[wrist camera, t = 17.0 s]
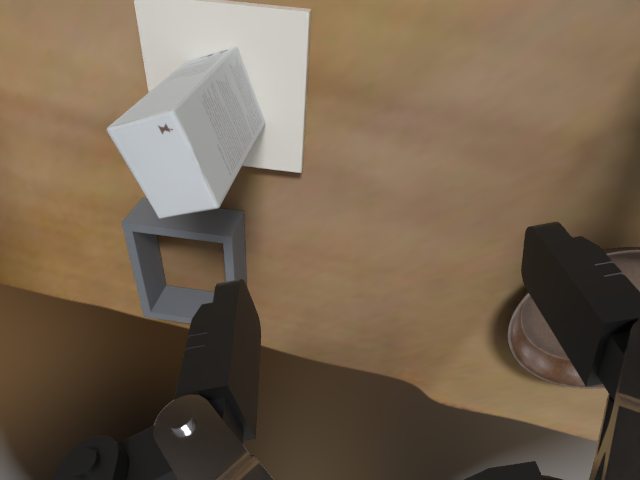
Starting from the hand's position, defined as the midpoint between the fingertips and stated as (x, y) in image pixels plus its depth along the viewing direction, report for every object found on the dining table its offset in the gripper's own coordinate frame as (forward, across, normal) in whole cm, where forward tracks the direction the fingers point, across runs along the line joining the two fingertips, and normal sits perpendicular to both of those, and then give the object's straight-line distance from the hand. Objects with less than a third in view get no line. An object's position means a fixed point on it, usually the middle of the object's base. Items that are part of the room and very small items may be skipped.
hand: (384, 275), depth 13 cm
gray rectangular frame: (+26, +16, +17) cm, 35 cm away
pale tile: (+25, +8, +2) cm, 27 cm away
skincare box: (+25, +8, +2) cm, 26 cm away
